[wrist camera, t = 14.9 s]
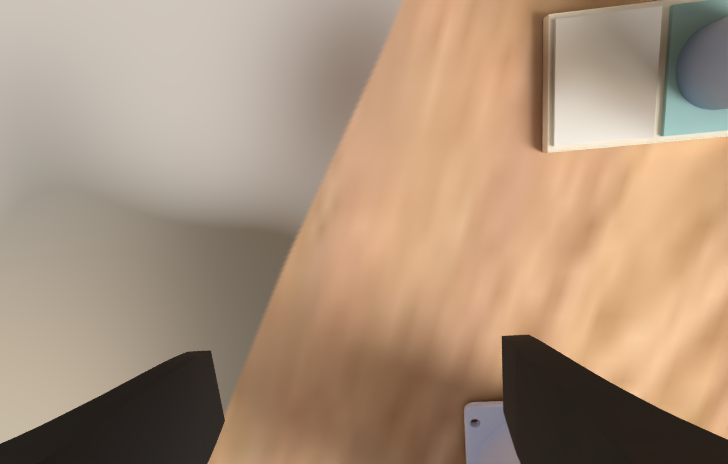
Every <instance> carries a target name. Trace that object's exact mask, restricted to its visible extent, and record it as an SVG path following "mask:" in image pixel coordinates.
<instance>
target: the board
mask: <svg viewBox="0 0 728 464" xmlns="http://www.w3.org/2000/svg"><path fill="white" fill-rule="evenodd" d="M725 17H728V0H660V1H652V2H644V3H636V4H628V5H620V6H612V7H603V8H595V9H587V10H579V11H571V12H563V13H555V14H549V15H547V16H546V17H545V18H544V19H543V132H542V152H544V153H550V152H561V151H572V150H583V149H594V148H605V147H616V146H627V145H638V144H649V143H660V142H671V141H682V140H693V139H704V138H715V137H726V136H728V109H719V110H706V109H701V108H699V107H696V106H694V105H692V104H691V103H689V102H688V101H687V100H686V99H685V98H684V97H683V95H682V94H681V92H680V90H679V88H678V85H677V81H676V65H677V61H678V58H679V55H680V53H681V51H682V49H683V47H684V46H685V44H686V43H687V41H688V40H689V39H690V38H691V37H692V36H693V35H694V34H695V33H696V32H697V31H698V30H700V29H701V28H703V27H704V26H706V25H708V24H710V23H712V22H714V21H717V20H720V19H722V18H725Z"/></svg>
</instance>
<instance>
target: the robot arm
mask: <svg viewBox="0 0 728 464" xmlns="http://www.w3.org/2000/svg"><path fill="white" fill-rule="evenodd" d="M502 372H503V401H491V402H471V403H469V404H467V405H466V406H465V407H464V426H465V449H466V464H728V440H727V439H725V438H722V437H720V436H718V435H716V434H713V433H711V432H709V431H707V430H705V429H702V428H700V427H698V426H696V425H693V424H691V423H689V422H687V421H685V420H682V419H680V418H678V417H676V416H674V415H672V414H670V413H668V412H666V411H664V410H661V409H659V408H657V407H655V406H653V405H652V404H650V403H648V402H646V401H644V400H642V399H640V398H638V397H636V396H634V395H633V394H631V393H629V392H627V391H625V390H623V389H621V388H619V387H618V386H616V385H614V384H612V383H610V382H609V381H607V380H605V379H603V378H602V377H600V376H598V375H596V374H595V373H593V372H591V371H590V370H588V369H586V368H584V367H583V366H581V365H579V364H578V363H576V362H574V361H573V360H571V359H569V358H568V357H566V356H565V355H563V354H561V353H560V352H558V351H556V350H555V349H553V348H551V347H550V346H548V345H546V344H545V343H543V342H541V341H540V340H538V339H536V338H534V337H532V336H530V335H513V336H502ZM473 419H478V421H477V422H471V420H473ZM224 421H225V419H224V414H223V409H222V404H221V399H220V394H219V389H218V384H217V380H216V374H215V369H214V364H213V359H212V354H211V351H193V352H186V353H183V354H181V355H179V356H176V357H174V358H172V359H170V360H168V361H165V362H163V363H161V364H159V365H158V366H156V367H154V368H152V369H150V370H148V371H147V372H144V373H142V374H140V375H138V376H137V377H135V378H133V379H131V380H129V381H127V382H125V383H123V384H122V385H120V386H118V387H116V388H114V389H112V390H110V391H109V392H107V393H105V394H103V395H101V396H99V397H97V398H95V399H93V400H91V401H89V402H87V403H85V404H83V405H81V406H79V407H77V408H75V409H73V410H71V411H69V412H67V413H65V414H63V415H61V416H59V417H57V418H55V419H53V420H51V421H49V422H47V423H45V424H43V425H41V426H39V427H37V428H35V429H33V430H30V431H28V432H26V433H24V434H22V435H19V436H17V437H15V438H13V439H11V440H8V441H6V442H3V443H1V444H0V464H207V463H208V461H209V459H210V457H211V454H212V452H213V449H214V447H215V445H216V442H217V440H218V437H219V435H220V432H221V429H222V427H223V424H224Z"/></svg>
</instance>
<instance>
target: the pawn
mask: <svg viewBox="0 0 728 464" xmlns="http://www.w3.org/2000/svg"><path fill="white" fill-rule="evenodd" d="M676 81H677V85H678V88H679V90H680V92H681V94H682V95H683V97H684V98H685V99H686V100H687V101H688V102H689V103H691V104H692V105H694V106H696V107H699V108H701V109H706V110H719V109H728V17H725V18H722V19H720V20H717V21H714V22H712V23H710V24H708V25H706V26H704V27H703V28H701V29H700V30H698V31H697V32H696V33H695V34H694V35H693V36H692V37H691V38H690V39H689V40H688V41H687V43H686V44H685V46H684V47H683V49H682V51H681V53H680V55H679V58H678V61H677V65H676Z"/></svg>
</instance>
